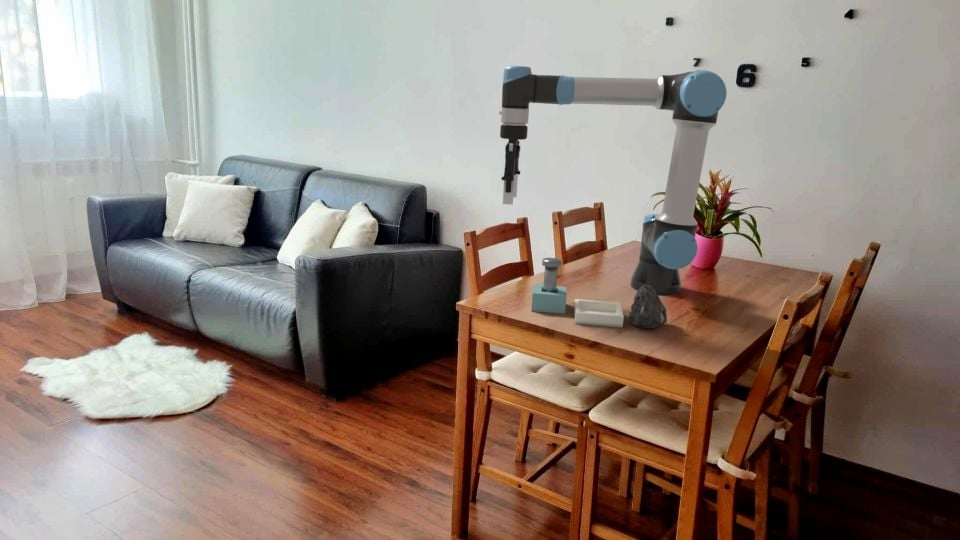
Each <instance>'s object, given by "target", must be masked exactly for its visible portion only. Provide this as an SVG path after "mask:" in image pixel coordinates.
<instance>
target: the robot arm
mask: <svg viewBox="0 0 960 540" xmlns="http://www.w3.org/2000/svg"><path fill="white" fill-rule="evenodd" d="M502 77H503V78H502V93H501V95H502V96H501V110H500V111H499V112H498V114H499V115H501V117H500V122H501V123H502V124H501V125H500V130H499V131H500V132H499V136H500V139H502V140H503V139H505V140H508V141H507V142H508V143H506V145H505V146H504V147H505V148H504V150H505V151H504V152H505V156H504V157H505V159H504V160H505V162H504V170H503V171H504V172H503V173H504V174H503V176H501V181H503V189H502V190H503V194H502V205H510V206H511V205H513V204H514V198H517V197H518V196H517V194H518V177H519V175H521V170H520V169H519V162H520V161H519V159H520V152H521V145H520V144H521V143H520V141H521V140H522V141H523V140H526V139H527V138H528V130H529V129H528V128H529V127H528V125H527V124H529V114H530V103H531V104H546V105H559V106H562V105H571V104H574V105H608V106H609V105H612V106H613V105H617V106H646V107H647V106H651V107H655V109H656V110H661V111H662V110H665V111H666V110H667V111H672V112H673V113H672V117H671V120H672V122H673V123H674V124H675V127H676V129H675V134H674V140H673V147H672V152H671V158H670V164H669V170H668V175H667V181H666V188H665V194H664V199H663V205H662V211H661V212H660V213H659V214H654V213H648V214H645V215H644V217H643V222H642V231H641V232H642V233H641V239H640V240H641V241H640V248H639V249H640V251H639V258H638V263H637V265H636V267H635V269H634V272H633V274H632V276H631V278H630V286H631V287H632V288H633V289H635V290H637V291H638V290H639V288H640V287H641V286H642V285H647V286H652V287H653V289H654V290H655V291H656V293H657V295H673V294H679V293H680V292H681V288H682V287H681V286H682V281H681V276H680V269H683V268H686V267H687V266H688V265H689V266H690V264H691V263H692V262H693V261H694V260H695V259H696V256H697V254H698V248H699V247H698V242H697V240H696V236H697V235H696V233H697V229H698V221H697V220H696V218H695V217H694V213H695V208H696V203H697V197H698V194H699V193H698V192H699V187H700V180H701V176H702V170H703V165H704V160H705V154H706V149H707V143H708V138H709V132H710V130H712V128H713V127H715V126H716V125H717V121H718V116H719V111H721V109H722V108H723V106H724V105H725V102H726V100H727V93H728V92H727V86H726V83H725V81H724V80H723V79H722V77H720V75H718V74H717V73H716V72H713V71H709V70H705V69H701V70H700V69H698V70H693V71H688V72H687V71H686V72H683V73H675V74H663V75H662V74H660V75H658V76H657V77H656V78H641V77H639V78H638V77H637V78H636V77H592V76H590V77H589V76H588V77H586V76H585V77H584V76H583V77H582V76H568V75H553V74H552V75H548V74H534V73H533V72H532V68H531V66H530V67H529V66H523V65H521V66H520V65H508V66H506V67H504V70H503V76H502Z"/></svg>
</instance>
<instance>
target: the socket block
mask: <svg viewBox="0 0 960 540" xmlns="http://www.w3.org/2000/svg"><path fill="white" fill-rule="evenodd" d="M543 285H544V284H537V283H534V284H533V288H532V299H531V312H537V313H551V314H561V315H562V314H563V315H565V314H566V307H567V286H564V285H563V286H561V285H557V289H556V293H554V292H543Z"/></svg>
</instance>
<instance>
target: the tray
mask: <svg viewBox="0 0 960 540" xmlns="http://www.w3.org/2000/svg"><path fill="white" fill-rule="evenodd" d="M573 306H574V307H573V315H574V316H573V317H574V324H575V325H585V326H597V327H599V326H600V327H609V328H610V327H611V328H623V327H624V326H623V325H624V313H623V310H622V306H621V303H620V302H616V301H605V300H594V299H593V300H592V299H580V298H575V299H574V304H573Z"/></svg>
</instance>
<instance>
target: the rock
mask: <svg viewBox="0 0 960 540" xmlns="http://www.w3.org/2000/svg"><path fill="white" fill-rule="evenodd" d="M630 310H631V311H630V312H629V313H628V316H627V318H626V319H627V320H628V321H629V323H630V324H631V325H633V326H637V327H638V328H639V329H653V328H657V327H658V326H660V325H661V324H666V323H667V322H668V316H667V315H668V314H667V308H666V307H665V305H664V304H663V302H662V301H661V299H660V297H659V294H657V293H656V291H655V290H654V289H653V287H652V286H647V285H642V286H641V287H640V288H639V290H637V291H636V293H635V295H634V297H633V303H632V305H631V306H630Z"/></svg>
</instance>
